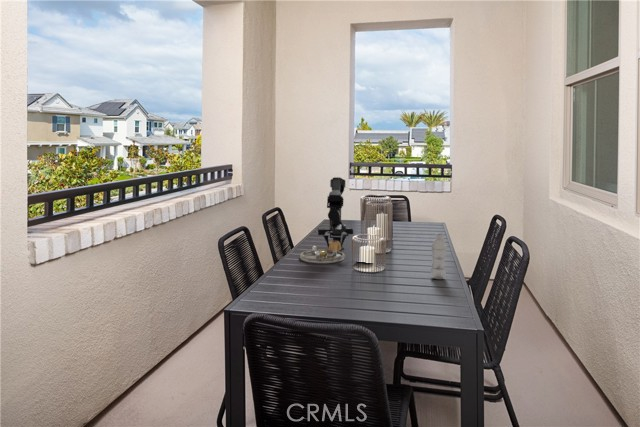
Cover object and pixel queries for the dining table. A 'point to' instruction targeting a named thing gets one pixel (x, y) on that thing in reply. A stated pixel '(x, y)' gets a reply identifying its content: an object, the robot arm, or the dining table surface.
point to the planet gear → (334, 246)
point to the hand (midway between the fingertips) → (334, 247)
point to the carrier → (321, 256)
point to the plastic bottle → (438, 257)
